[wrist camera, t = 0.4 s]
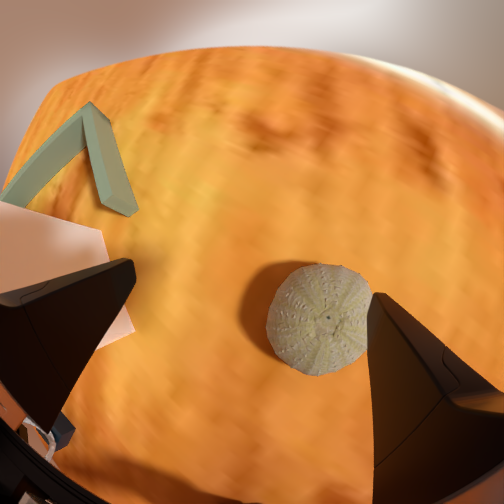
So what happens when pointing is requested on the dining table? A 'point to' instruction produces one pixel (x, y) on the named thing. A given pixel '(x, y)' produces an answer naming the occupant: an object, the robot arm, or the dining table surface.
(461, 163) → the dining table surface
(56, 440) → the watch
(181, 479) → the dining table surface
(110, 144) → the corral
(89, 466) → the dining table surface
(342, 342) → the sea urchin shell
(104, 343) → the milk
